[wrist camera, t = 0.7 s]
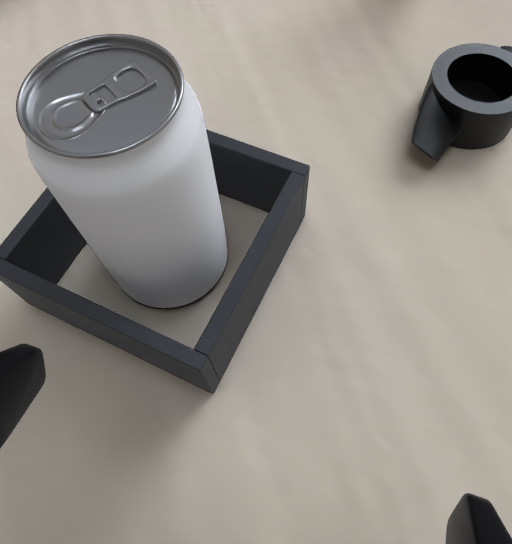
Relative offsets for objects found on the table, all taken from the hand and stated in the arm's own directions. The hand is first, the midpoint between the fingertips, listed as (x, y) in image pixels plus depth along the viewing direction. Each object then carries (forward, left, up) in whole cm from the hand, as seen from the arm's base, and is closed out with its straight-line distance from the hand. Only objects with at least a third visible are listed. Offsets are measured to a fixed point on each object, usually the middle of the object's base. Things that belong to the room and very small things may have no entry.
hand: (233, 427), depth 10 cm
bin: (+8, +9, -13) cm, 18 cm away
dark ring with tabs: (+25, -3, -14) cm, 28 cm away
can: (+8, +9, -14) cm, 18 cm away
